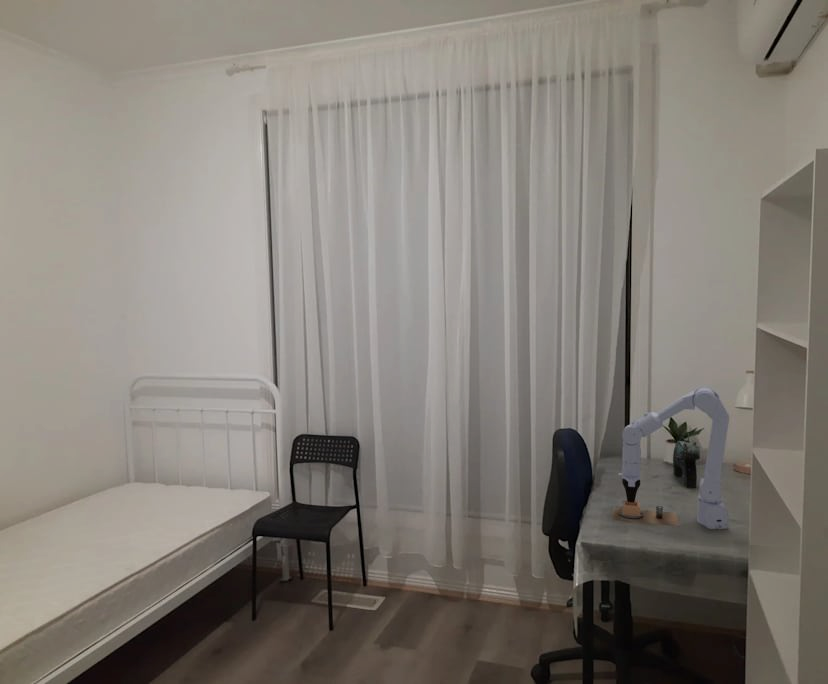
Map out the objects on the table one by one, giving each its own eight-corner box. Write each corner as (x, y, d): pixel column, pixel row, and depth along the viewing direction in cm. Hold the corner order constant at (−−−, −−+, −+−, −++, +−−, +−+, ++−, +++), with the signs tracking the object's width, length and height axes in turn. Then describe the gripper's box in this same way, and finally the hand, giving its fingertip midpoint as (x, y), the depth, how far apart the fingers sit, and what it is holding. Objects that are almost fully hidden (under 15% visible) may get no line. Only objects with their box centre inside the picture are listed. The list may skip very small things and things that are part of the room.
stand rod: (662, 516, 205) (662, 506, 205) (662, 518, 203) (663, 508, 203) (655, 516, 206) (656, 505, 205) (656, 518, 204) (656, 507, 203)
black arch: (700, 489, 236) (702, 437, 235) (682, 489, 237) (683, 437, 236) (684, 474, 256) (685, 425, 254) (667, 474, 257) (668, 425, 255)
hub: (642, 512, 209) (643, 502, 209) (643, 520, 202) (643, 510, 202) (618, 510, 212) (618, 500, 212) (618, 517, 205) (618, 508, 204)
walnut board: (676, 517, 208) (676, 512, 208) (679, 530, 197) (679, 526, 197) (613, 511, 215) (613, 507, 214) (612, 524, 203) (612, 519, 203)
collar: (639, 510, 209) (639, 501, 208) (640, 516, 204) (640, 507, 203) (622, 509, 210) (622, 500, 210) (622, 514, 205) (622, 505, 205)
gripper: (618, 455, 216) (618, 493, 217) (618, 466, 202) (618, 507, 203) (640, 456, 214) (640, 495, 215) (642, 468, 200) (641, 509, 201)
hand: (630, 501), depth 209 cm, fingers closed, pressing on collar
